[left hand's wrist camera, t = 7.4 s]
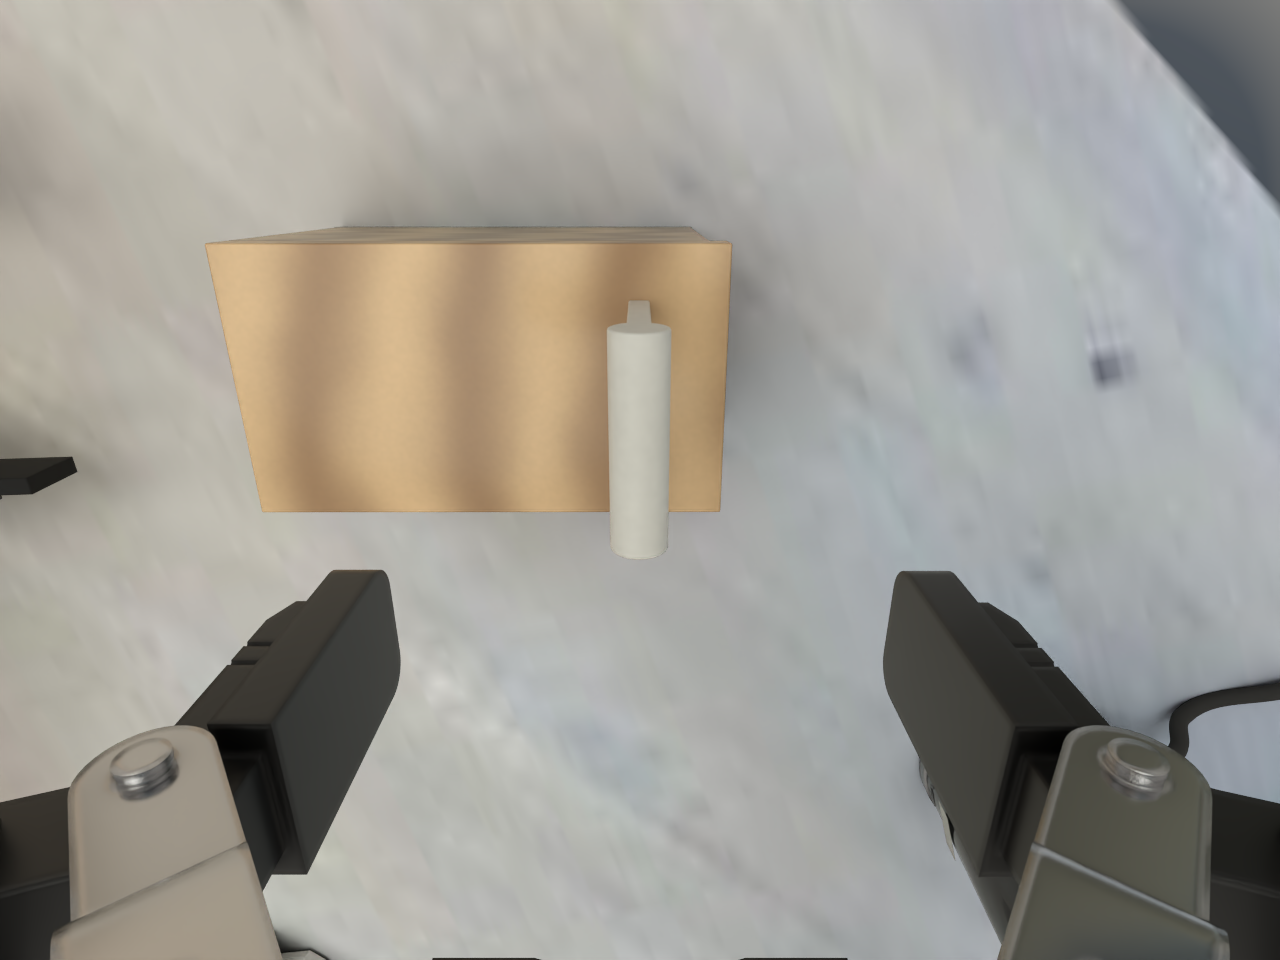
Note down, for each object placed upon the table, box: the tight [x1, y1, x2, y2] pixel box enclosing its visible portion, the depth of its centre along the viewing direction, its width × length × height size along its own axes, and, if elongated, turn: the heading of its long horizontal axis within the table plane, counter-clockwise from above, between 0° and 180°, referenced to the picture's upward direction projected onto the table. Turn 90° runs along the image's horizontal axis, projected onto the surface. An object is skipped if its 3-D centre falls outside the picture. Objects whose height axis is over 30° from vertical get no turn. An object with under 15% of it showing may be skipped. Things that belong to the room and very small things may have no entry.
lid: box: [205, 241, 732, 560], centre depth 23 cm, size 17×10×8 cm, turn 90°
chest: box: [230, 227, 709, 241], centre depth 31 cm, size 17×10×10 cm, turn 90°
